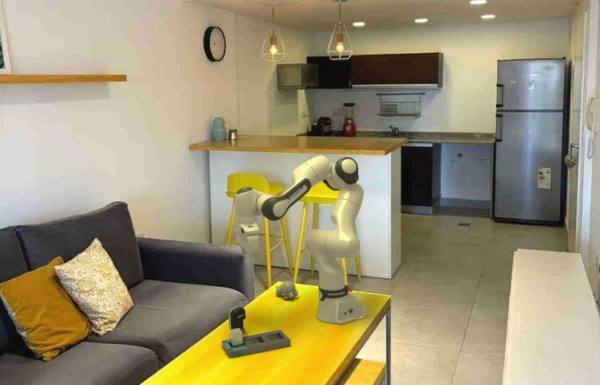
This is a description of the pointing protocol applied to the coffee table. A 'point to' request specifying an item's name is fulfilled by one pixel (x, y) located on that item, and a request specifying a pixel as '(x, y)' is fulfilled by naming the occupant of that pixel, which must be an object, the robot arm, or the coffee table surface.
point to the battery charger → (237, 318)
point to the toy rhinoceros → (287, 290)
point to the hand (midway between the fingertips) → (247, 257)
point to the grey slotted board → (259, 347)
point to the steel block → (236, 338)
